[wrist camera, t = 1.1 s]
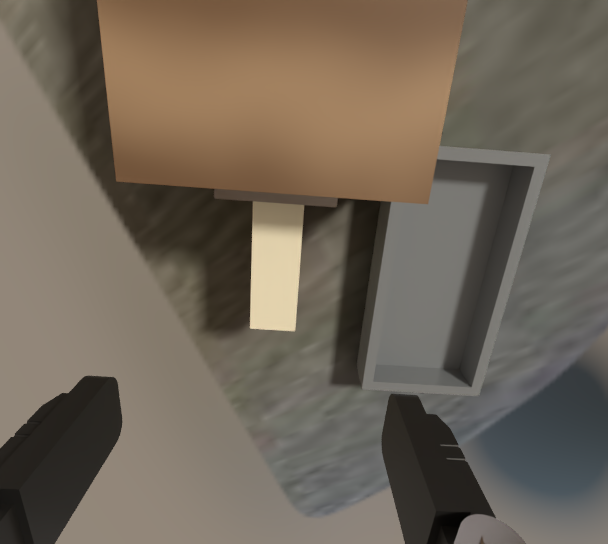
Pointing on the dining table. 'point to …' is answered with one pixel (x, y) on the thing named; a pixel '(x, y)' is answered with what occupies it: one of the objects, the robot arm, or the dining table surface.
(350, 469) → the dining table surface
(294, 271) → the cream rectangular block
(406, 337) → the tray
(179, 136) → the wooden block
